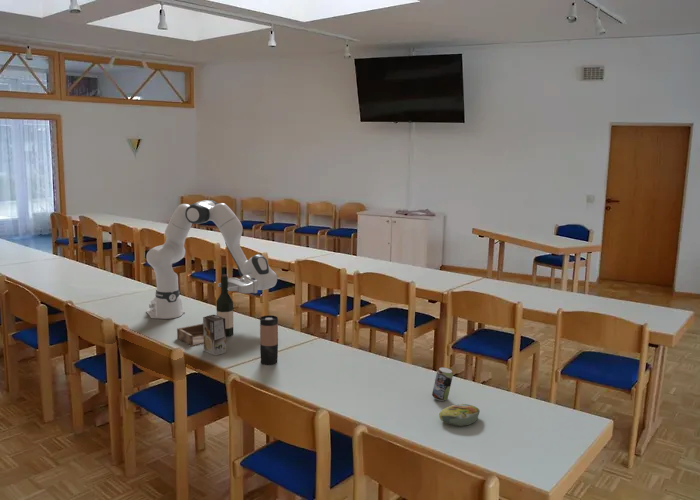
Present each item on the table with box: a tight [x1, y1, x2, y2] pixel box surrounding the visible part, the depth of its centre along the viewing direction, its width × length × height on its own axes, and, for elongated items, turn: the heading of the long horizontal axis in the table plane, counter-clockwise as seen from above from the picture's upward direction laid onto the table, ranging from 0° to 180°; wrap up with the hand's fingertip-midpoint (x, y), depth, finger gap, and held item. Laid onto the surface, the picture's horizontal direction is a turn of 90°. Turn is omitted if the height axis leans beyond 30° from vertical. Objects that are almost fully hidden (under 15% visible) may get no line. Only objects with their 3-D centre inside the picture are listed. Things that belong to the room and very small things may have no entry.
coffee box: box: [202, 314, 227, 356], centre depth 277 cm, size 9×6×16 cm
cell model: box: [438, 403, 481, 426], centre depth 214 cm, size 11×8×15 cm
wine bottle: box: [215, 273, 235, 338], centre depth 300 cm, size 8×8×30 cm
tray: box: [176, 323, 204, 347], centre depth 294 cm, size 14×14×5 cm
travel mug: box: [259, 315, 279, 366], centre depth 265 cm, size 8×8×20 cm
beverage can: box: [431, 366, 454, 402], centre depth 231 cm, size 6×7×12 cm
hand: (223, 287), depth 298 cm, fingers open, 8 cm apart
